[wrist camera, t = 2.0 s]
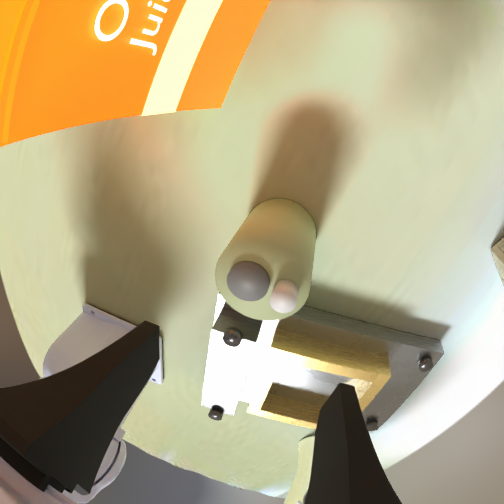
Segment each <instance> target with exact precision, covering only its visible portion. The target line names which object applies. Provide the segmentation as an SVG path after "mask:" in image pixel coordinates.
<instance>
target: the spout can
mask: <svg viewBox="0 0 504 504" xmlns="http://www.w3.org/2000/svg"><path fill="white" fill-rule="evenodd" d="M315 241H316V227H315V223H314V221H313V219H312V217H311V215H310V214H309V212H308V211H307V210H306V209H305V208H304V207H302V206H301V205H299V204H298V203H296V202H294V201H291V200H288V199H281V198H275V199H269V200H266V201H264V202H262V203H260V204H259V205H257V206H256V207H255V208H254V209H253V210H252V211H251V213H250V214H249V215H248V217H247V218H246V220H245V221H244V223H243V224H242V225H241V227H240V228H239V230H238V231H237V233H236V234H235V236H234V237H233V238H232V240H231V241H230V243H229V244H228V246H227V247H226V249H225V250H224V252H223V253H222V254H221V256H220V258H219V259H218V262H217V265H216V269H215V280H216V284H217V287H218V290H219V292H220V294H221V295H222V297H223V298H224V300H225V301H226V302H227V303H228V304H229V305H230V306H231V307H232V308H233V309H235V310H236V311H238V312H239V313H241V314H243V315H245V316H247V317H250V318H253V319H257V320H263V321H274V320H280V319H284V318H287V317H289V316H291V315H293V314H294V313H296V312H297V311H298V310H299V309H300V308H301V307H302V306H303V305H304V303H305V302H306V300H307V298H308V296H309V292H310V285H311V277H312V269H313V260H314V251H315Z"/></svg>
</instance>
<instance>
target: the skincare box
mask: <svg viewBox="0 0 504 504" xmlns="http://www.w3.org/2000/svg"><path fill="white" fill-rule="evenodd" d="M491 253H492V255H493V258H494V261H495V263H496V266H497V269H498V272H499V274H500V277H501V280H502V282H503V285H504V238H502V239H501V240H500V241H499V242H498V243H497V244H496V245H494V246H493V247H492V248H491Z"/></svg>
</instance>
